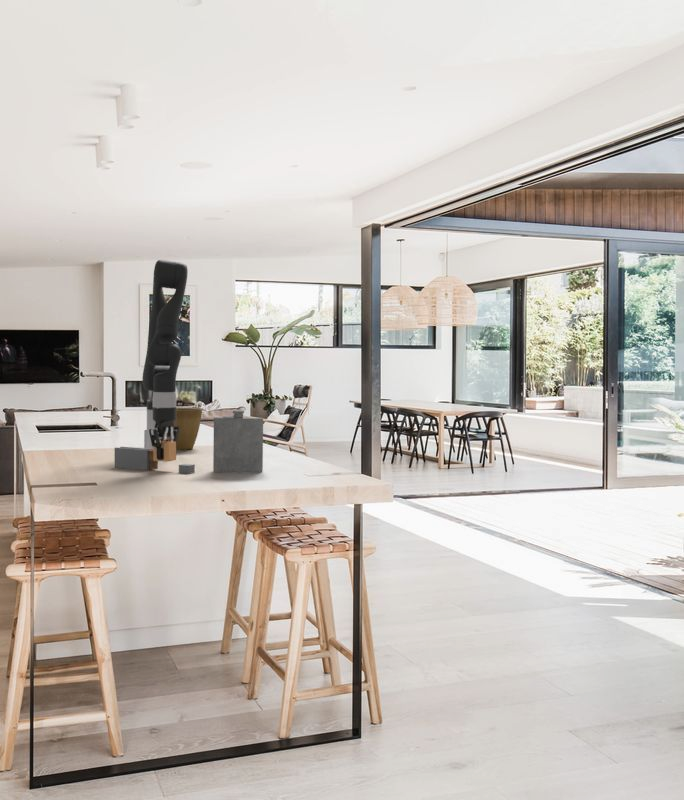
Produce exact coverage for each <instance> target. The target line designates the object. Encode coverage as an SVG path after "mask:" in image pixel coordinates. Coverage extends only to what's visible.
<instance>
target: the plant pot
mask: <svg viewBox="0 0 684 800" xmlns="http://www.w3.org/2000/svg"><path fill="white" fill-rule="evenodd" d="M202 413H203V408H197V407H196V408H194V407H191V408H190V407H189V408H188V407H181V408H180V407H178V408H177V407H176V420H175V421H173V423H174V426H179V433H178V438H177V443H176V451H178V450H179V451H186V450H187V449H190V450H193V449H194V446H195V444H196V441H197V437H198V435H199V434H198V433H199V431H200V425H201V420H202ZM173 440H174V439H173ZM187 451H188V450H187Z"/></svg>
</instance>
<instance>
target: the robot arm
mask: <svg viewBox="0 0 684 800" xmlns="http://www.w3.org/2000/svg"><path fill="white" fill-rule="evenodd" d="M187 281H188V266H187V264H186V263H184V262H180V261H173V260H168V259H167V260H166V259H165V260H164V259H158V260H157V261H156V262H155V265H154V269H153V283H152V301H151V302H152V303H151V309H150V316H149V323H148V334H147V347H146V355H145V360H144V366H143V372H142V379H141V380H142V382H141V383H142V386H143V387H142V388H143V389H144V390H146V391H150V392H151V391H152V392H153V393H152V399H151V400H149V401H147V402H146V429H144V434H143V435H144V437H143V443H144V444H143V445H144V448H147V449H153V446H154V447H156V448H157V459H158V460H163V459H164V448H163V447H164V442H165V441H170V442H171V441H172V442H176V443H177V438H178V433H179V426H174V423H173V421H175V420H176V408H177V393H176V388H177V387H176V385H177V384H176V383H177V382H176V381H177V373H178V369H179V365H180V363H181V358H182V350H181V348H180V345H178V344H176V343H173V342H175V341H176V339H177V338H178V334H179V323H180V321H179V320H180V315H181V309H182V306H183V302H184V297H185V294H186V293H185V292H186V288H187V287H186V286H187ZM163 288H164V289H172V290H174V291H175V292H174V294H173V295H172V296H171V298H170V299H169V300H168V301H167V300H166V297H165V294H164V290H163ZM173 439H174V440H173ZM160 441H161V444H160ZM155 442H156V443H155Z"/></svg>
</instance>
